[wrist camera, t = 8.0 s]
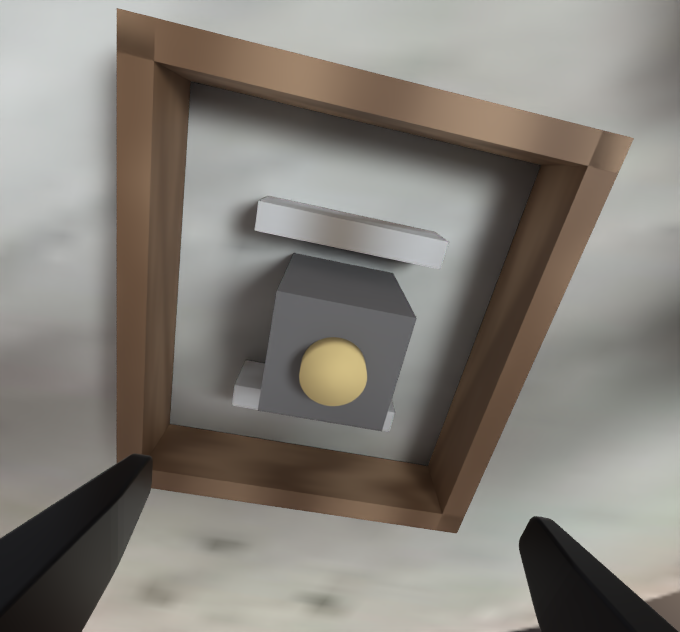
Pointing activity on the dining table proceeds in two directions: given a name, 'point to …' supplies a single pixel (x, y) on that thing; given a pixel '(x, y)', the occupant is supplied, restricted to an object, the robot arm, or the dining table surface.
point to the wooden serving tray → (341, 232)
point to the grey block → (335, 343)
